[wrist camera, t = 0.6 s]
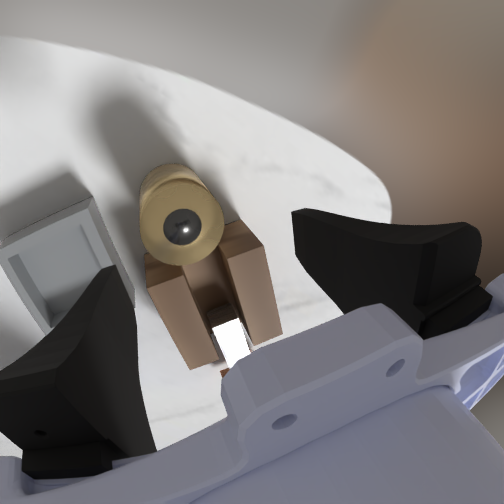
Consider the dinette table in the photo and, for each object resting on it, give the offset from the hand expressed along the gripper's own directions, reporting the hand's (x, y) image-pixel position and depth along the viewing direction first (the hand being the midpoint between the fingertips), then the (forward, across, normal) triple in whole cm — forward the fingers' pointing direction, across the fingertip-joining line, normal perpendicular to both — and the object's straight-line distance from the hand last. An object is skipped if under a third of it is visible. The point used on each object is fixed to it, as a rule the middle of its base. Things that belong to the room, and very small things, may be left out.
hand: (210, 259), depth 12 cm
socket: (+10, +10, +3) cm, 14 cm away
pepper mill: (+10, +1, 0) cm, 10 cm away
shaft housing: (+10, 0, +8) cm, 13 cm away
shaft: (+9, -1, +14) cm, 17 cm away
